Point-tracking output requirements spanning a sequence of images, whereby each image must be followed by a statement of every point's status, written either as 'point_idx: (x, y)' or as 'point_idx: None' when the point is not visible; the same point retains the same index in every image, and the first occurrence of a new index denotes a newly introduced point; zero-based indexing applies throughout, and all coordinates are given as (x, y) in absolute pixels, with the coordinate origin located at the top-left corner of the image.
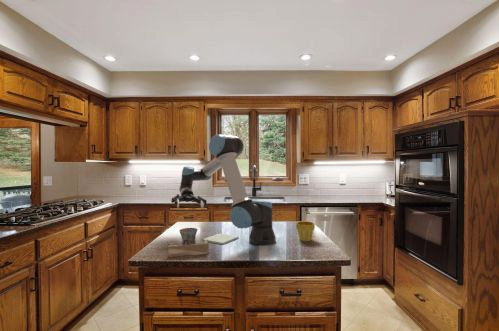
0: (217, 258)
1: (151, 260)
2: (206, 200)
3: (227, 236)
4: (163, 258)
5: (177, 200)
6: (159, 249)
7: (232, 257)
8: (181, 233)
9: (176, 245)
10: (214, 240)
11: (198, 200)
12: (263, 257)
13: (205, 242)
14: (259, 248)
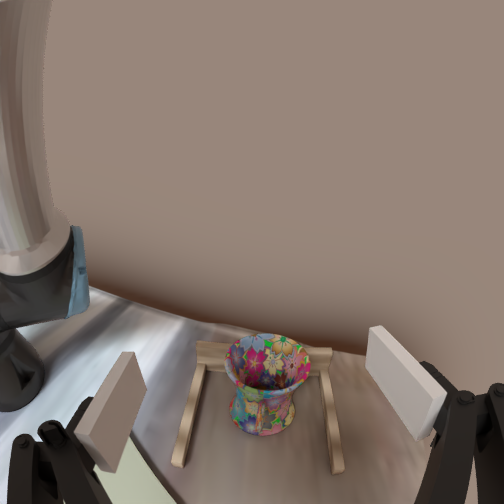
0: (190, 330)
1: (363, 356)
2: (18, 436)
3: None
4: (336, 363)
5: (421, 367)
6: (376, 439)
7: (154, 324)
8: (297, 352)
9: (306, 351)
10: (133, 462)
11: (101, 500)
12: (100, 304)
13: (183, 439)
14: (61, 343)
